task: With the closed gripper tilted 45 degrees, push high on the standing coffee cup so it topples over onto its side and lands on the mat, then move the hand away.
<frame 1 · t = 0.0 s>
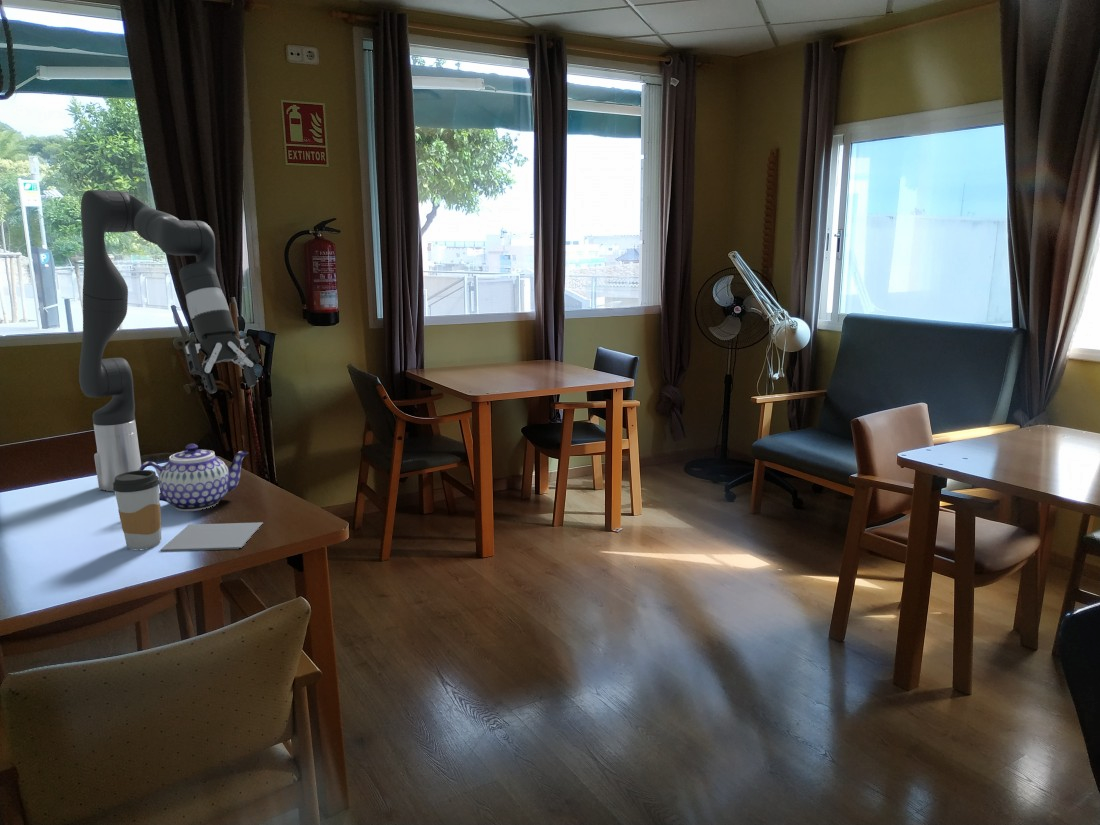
hand: (233, 389, 153), 31 cm above the table, tool tilted 20°, fingers open, 8 cm apart
coffee cup: (144, 545, 154), on the table
mat: (214, 537, 158), on the table
teapot: (197, 505, 179), on the table
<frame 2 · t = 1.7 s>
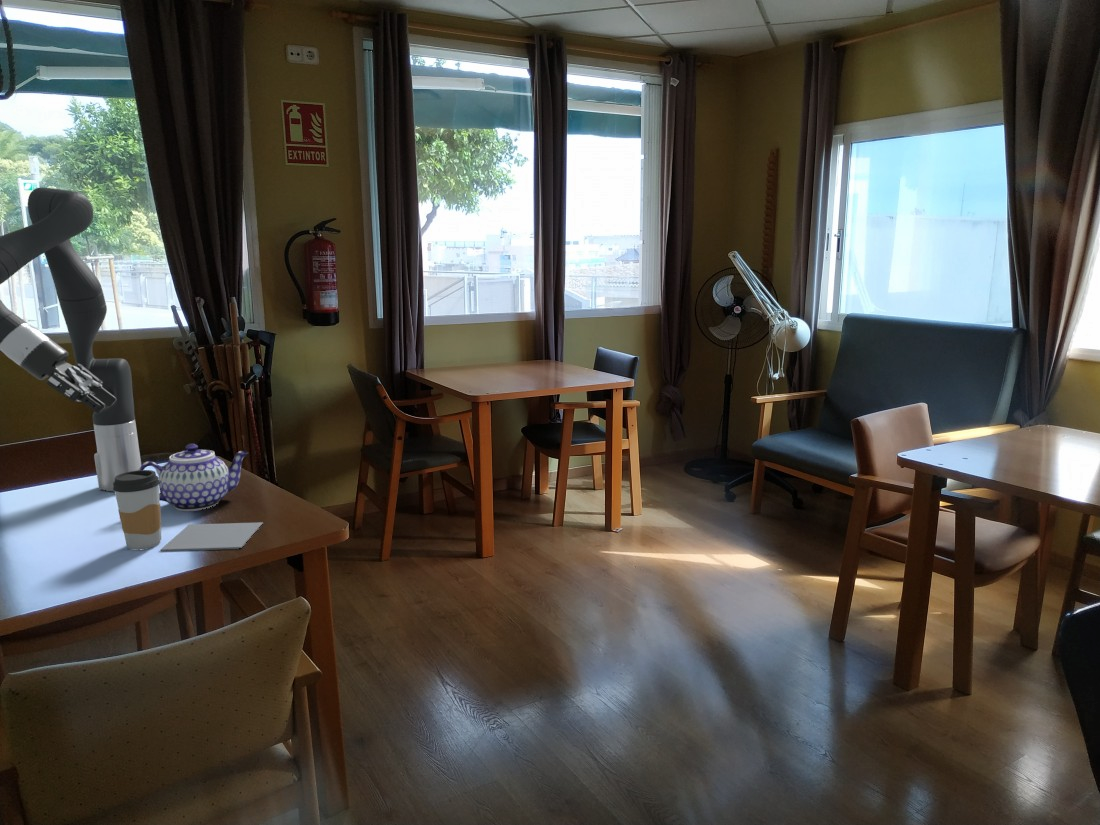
hand: (107, 405, 153), 28 cm above the table, tool tilted 45°, fingers open, 6 cm apart
nothing on the table moved.
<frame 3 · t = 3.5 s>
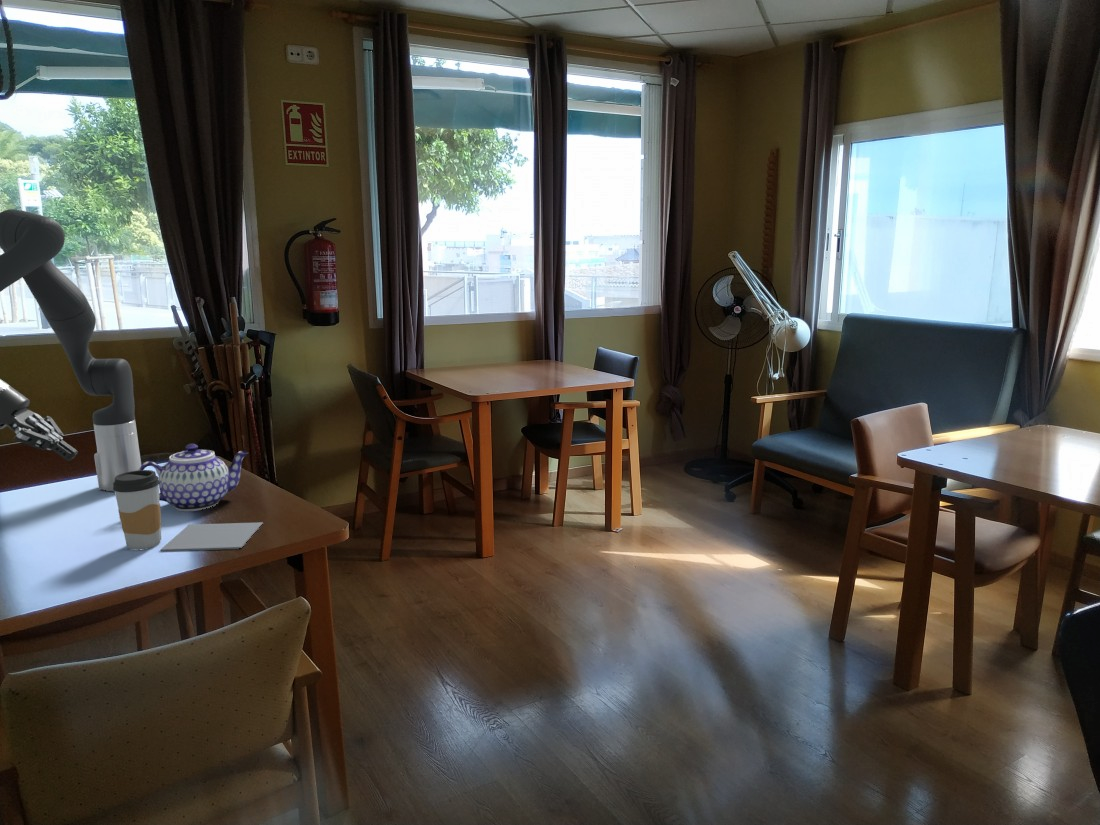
hand: (73, 456, 147), 20 cm above the table, tool tilted 45°, fingers closed
nothing on the table moved.
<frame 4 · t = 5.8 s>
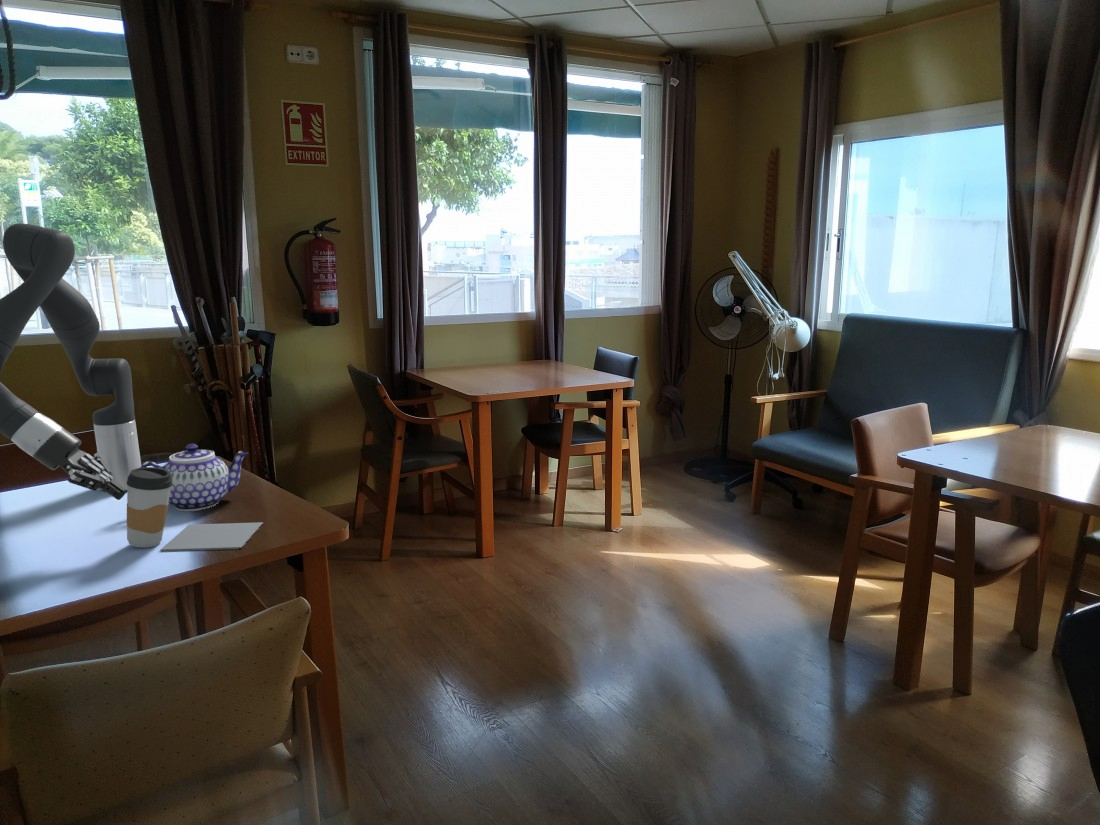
hand: (123, 495, 151), 11 cm above the table, tool tilted 45°, fingers closed
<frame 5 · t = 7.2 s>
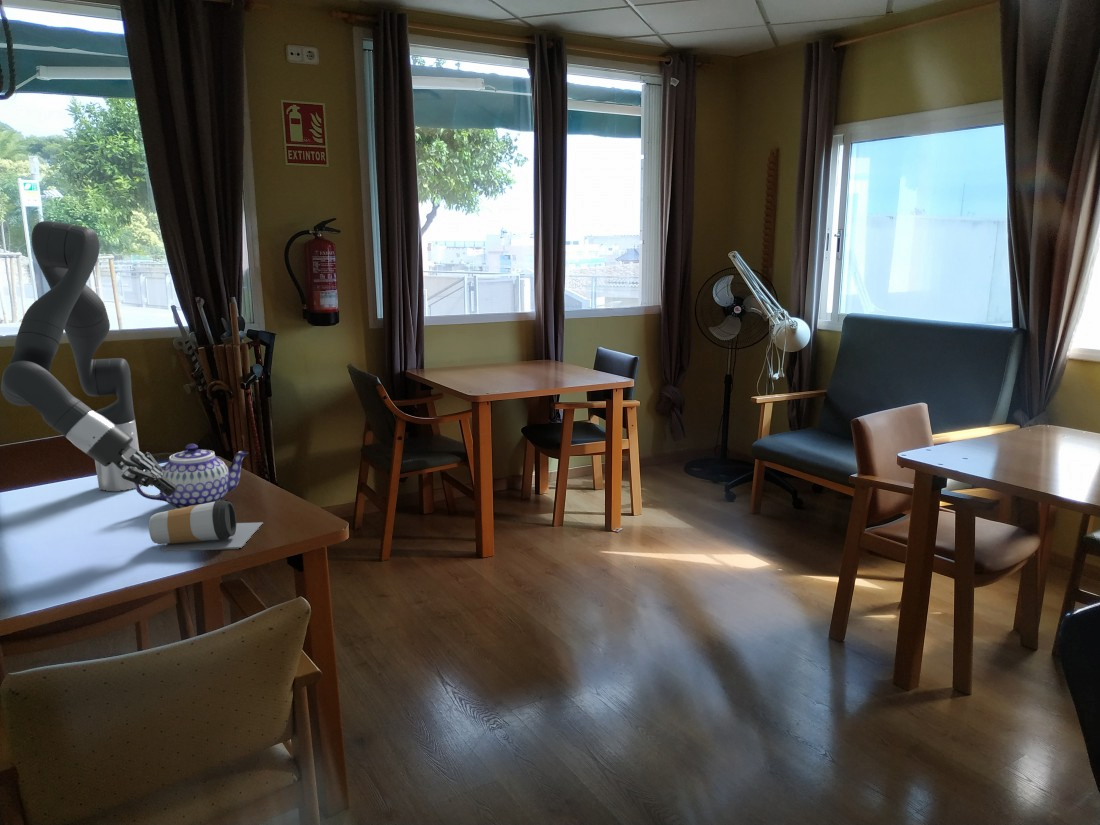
hand: (173, 491, 153), 11 cm above the table, tool tilted 45°, fingers closed
coffee cup: (153, 529, 152), point 4 cm above the table, touching mat
everything else where it was.
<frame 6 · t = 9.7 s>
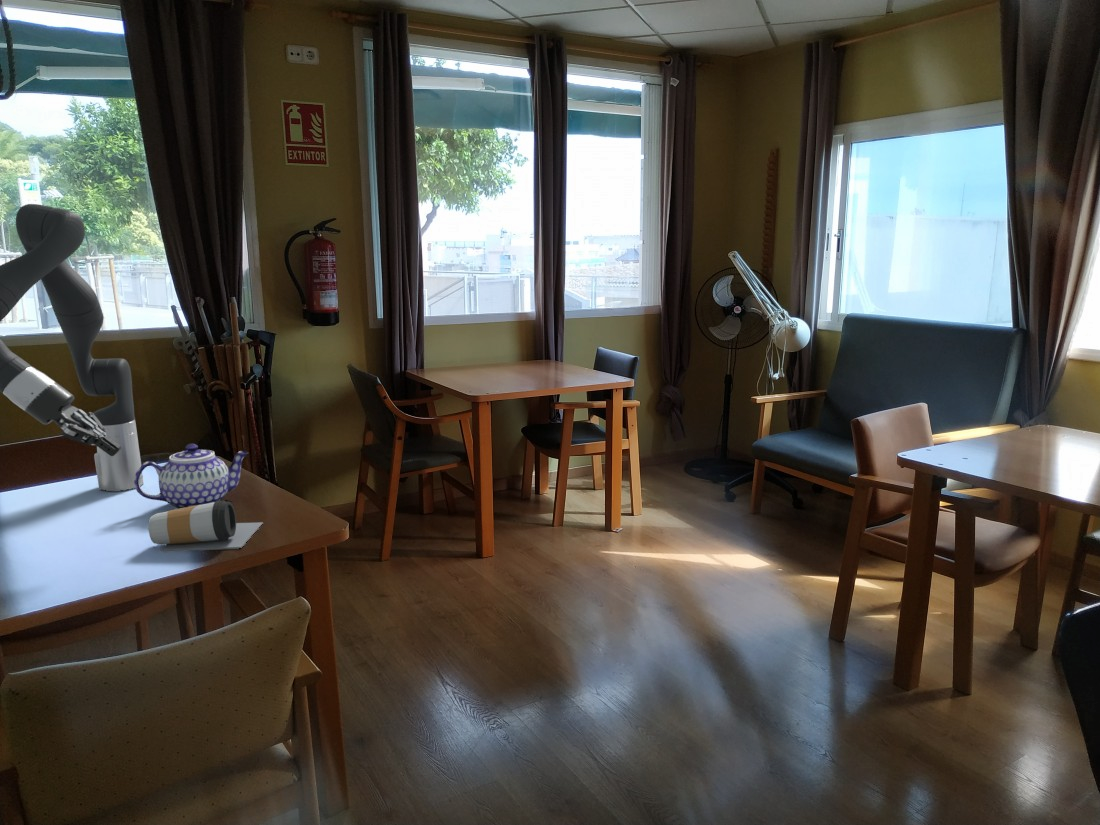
hand: (117, 452, 149), 20 cm above the table, tool tilted 45°, fingers closed
nothing on the table moved.
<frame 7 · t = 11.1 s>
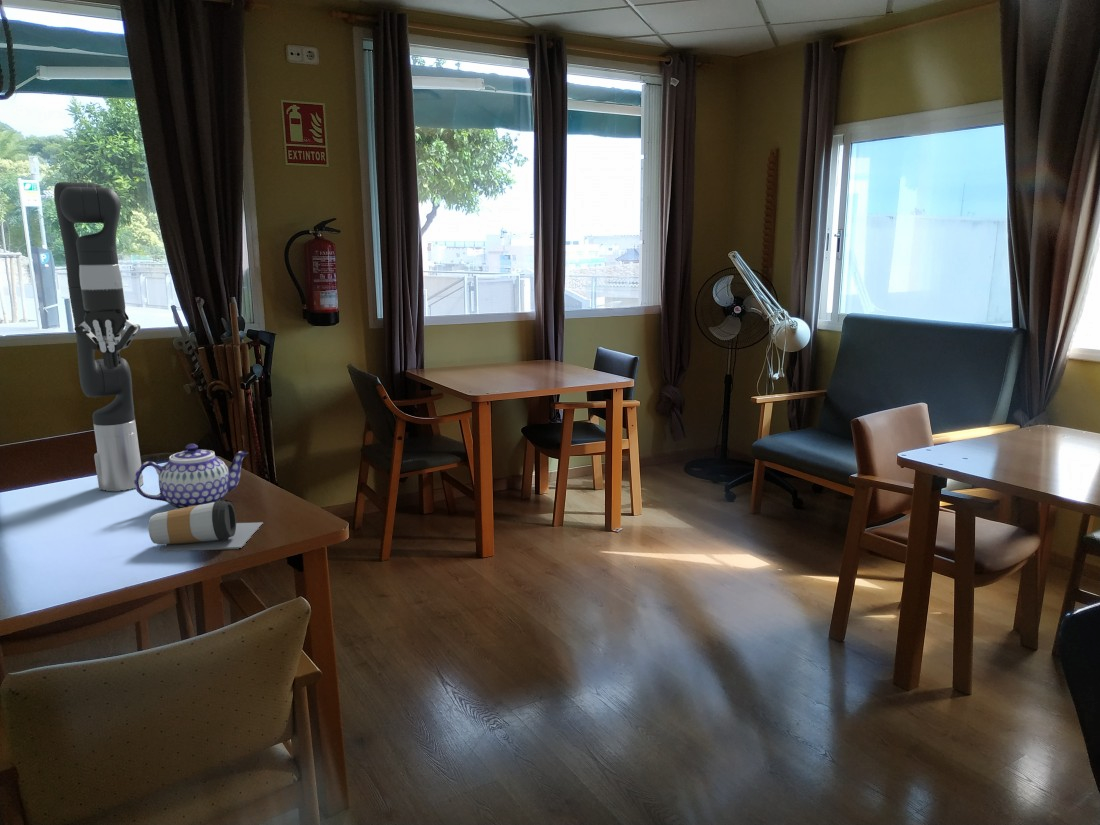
hand: (113, 369, 159), 35 cm above the table, tool pointing down, fingers closed
nothing on the table moved.
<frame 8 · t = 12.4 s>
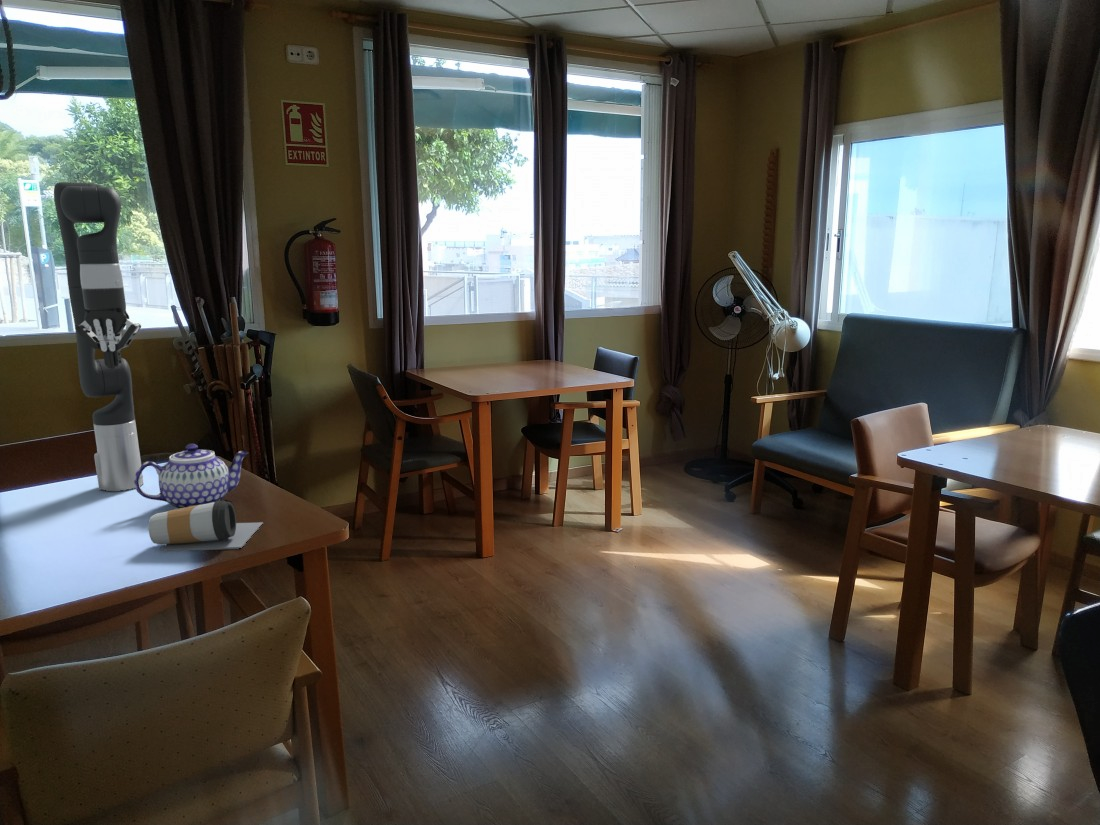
hand: (113, 368, 159), 35 cm above the table, tool pointing down, fingers closed
nothing on the table moved.
at the end: coffee cup tilted 85°; coffee cup touching mat; teapot moved 0.3 cm from its start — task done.
